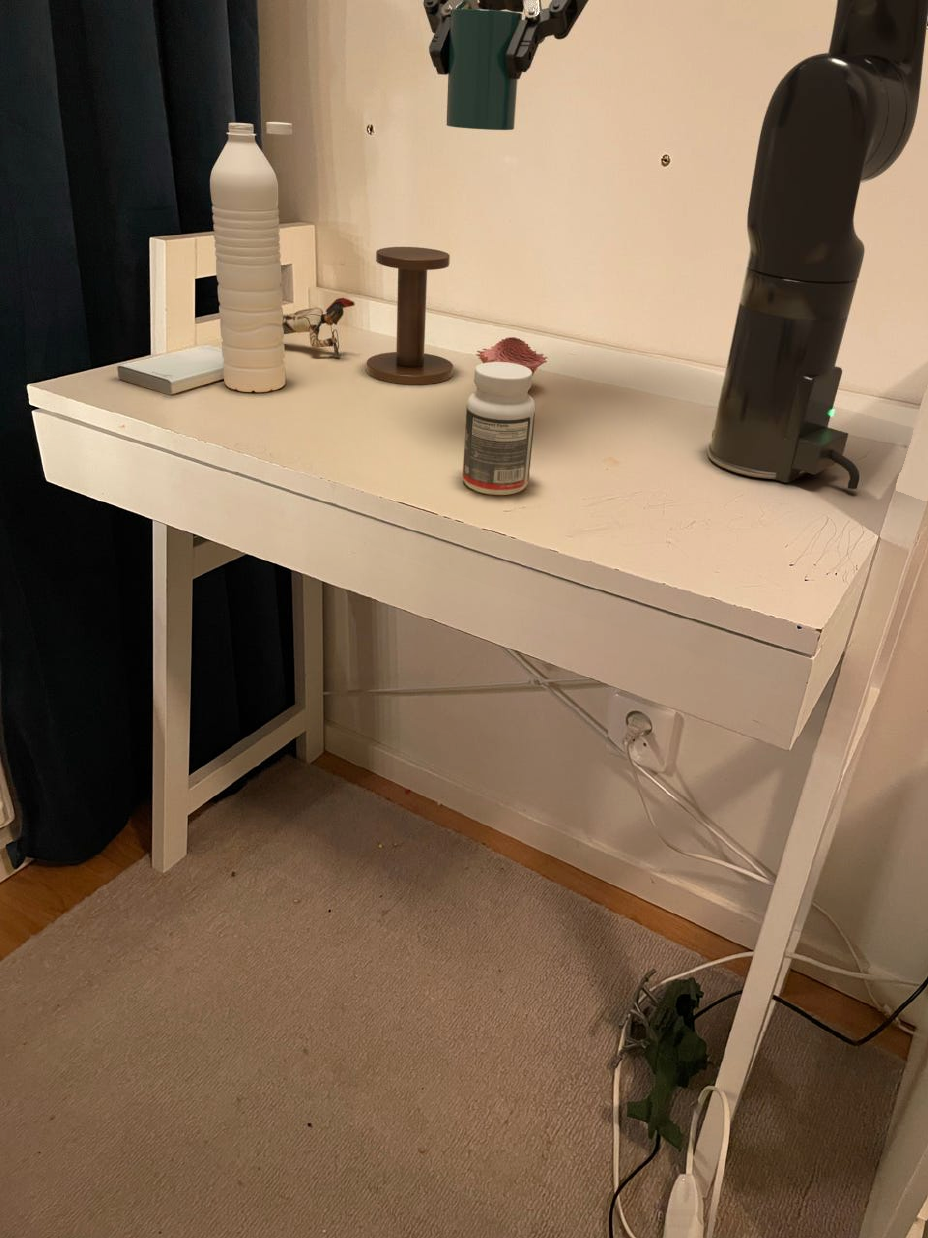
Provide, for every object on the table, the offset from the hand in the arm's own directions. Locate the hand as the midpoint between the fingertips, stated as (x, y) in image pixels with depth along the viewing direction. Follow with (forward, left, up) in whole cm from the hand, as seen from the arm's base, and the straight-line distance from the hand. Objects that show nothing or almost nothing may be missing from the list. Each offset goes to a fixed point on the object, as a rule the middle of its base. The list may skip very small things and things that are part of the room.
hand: (475, 67), depth 73 cm
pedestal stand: (+19, -12, -31) cm, 38 cm away
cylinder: (+1, -2, -4) cm, 5 cm away
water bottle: (+25, +4, -31) cm, 40 cm away
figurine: (+34, -7, -31) cm, 47 cm away
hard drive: (+32, +9, -31) cm, 45 cm away
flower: (+8, -17, -31) cm, 36 cm away
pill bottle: (-10, +5, -31) cm, 33 cm away
